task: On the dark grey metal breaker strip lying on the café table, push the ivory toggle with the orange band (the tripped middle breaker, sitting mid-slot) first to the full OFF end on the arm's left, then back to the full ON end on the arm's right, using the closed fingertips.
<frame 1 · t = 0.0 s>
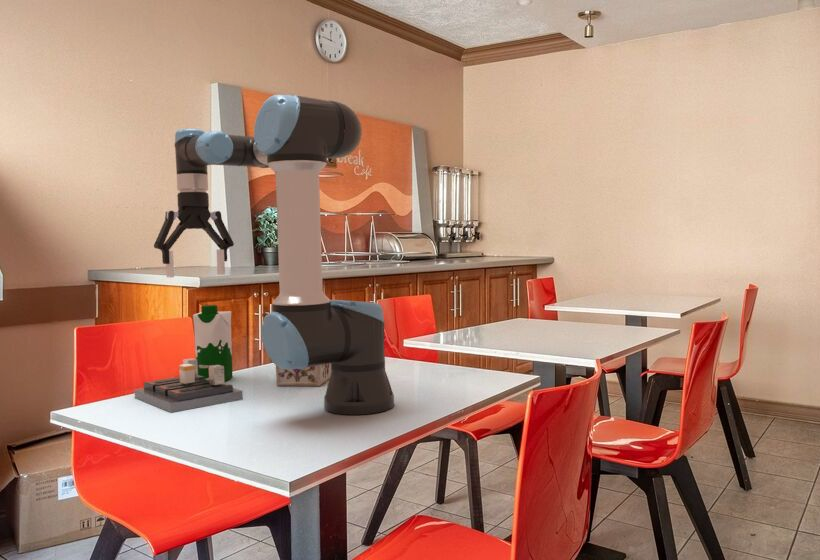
hand: (196, 276, 177), 28 cm above the table, fingers open, 13 cm apart
milk carton: (215, 381, 185), on the table
tripped toggle: (186, 373, 163), point 6 cm above the table, slide at 0.0 cm
breaker panel: (188, 398, 163), on the table
decorative jar: (305, 382, 180), on the table
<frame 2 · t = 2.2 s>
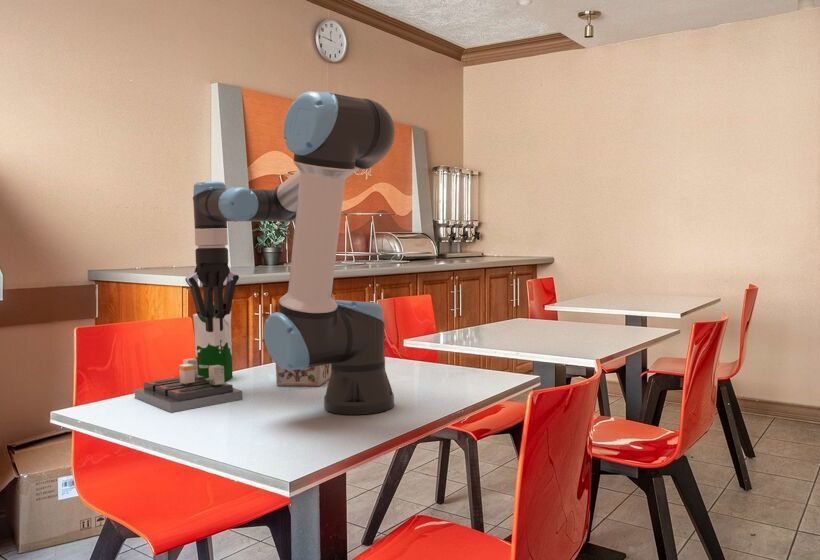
hand: (214, 344, 168), 12 cm above the table, fingers closed
nothing on the table moved.
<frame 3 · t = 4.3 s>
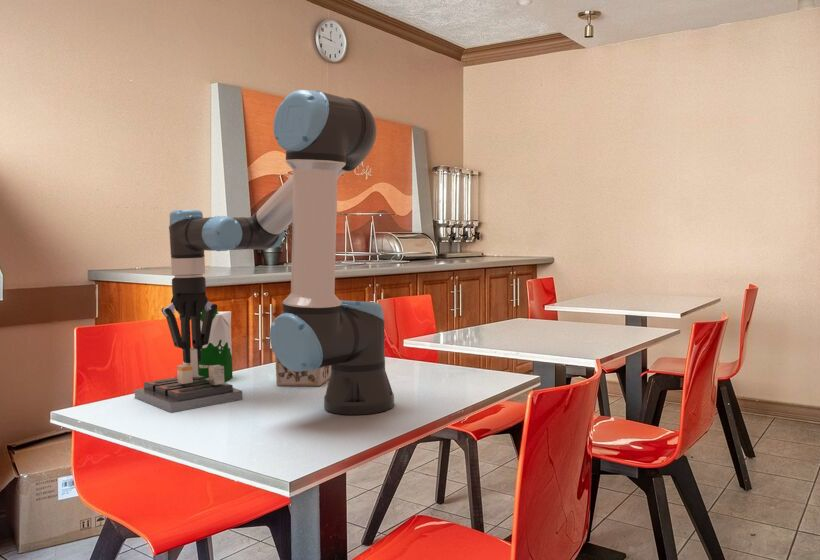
hand: (192, 376, 164), 5 cm above the table, fingers closed
tripped toggle: (184, 373, 163), point 6 cm above the table, slide at 0.5 cm, touching gripper
everything else where it was.
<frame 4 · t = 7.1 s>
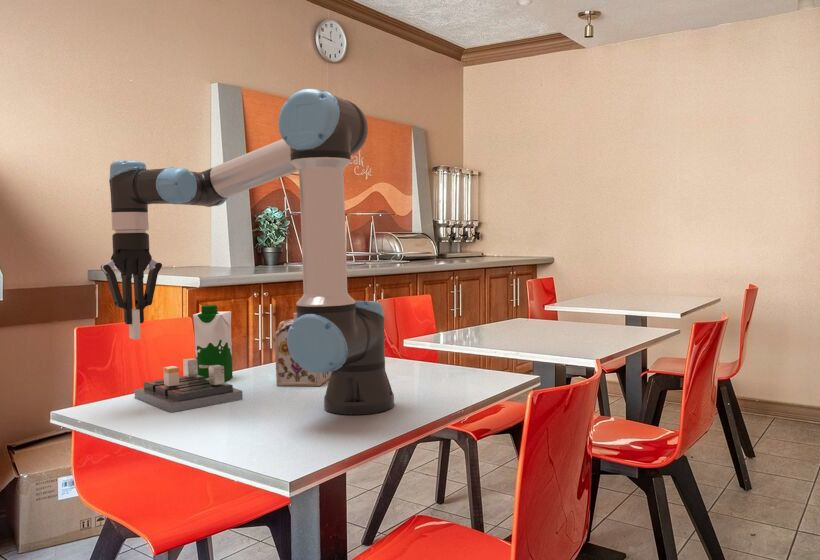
hand: (135, 338, 155), 15 cm above the table, fingers closed
tripped toggle: (171, 375, 161), point 6 cm above the table, slide at 3.7 cm
everything else where it was.
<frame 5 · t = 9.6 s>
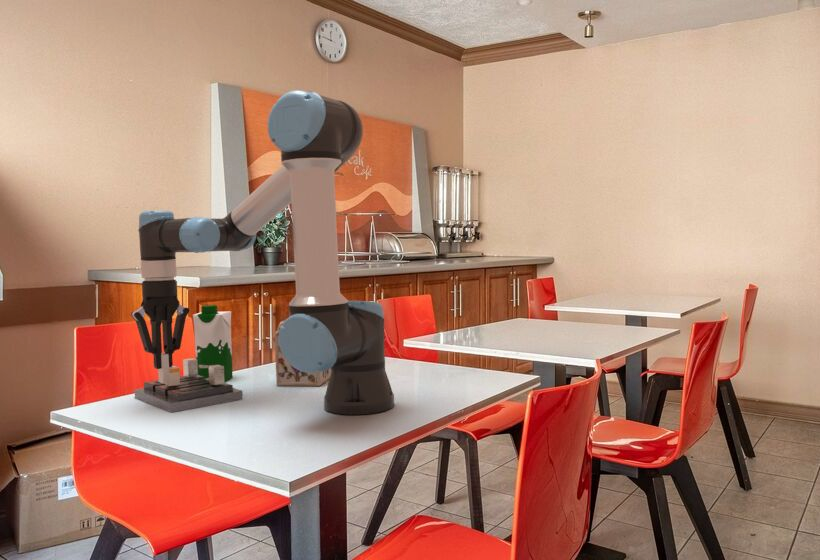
hand: (164, 382, 159), 5 cm above the table, fingers closed
tripped toggle: (172, 375, 161), point 6 cm above the table, slide at 3.6 cm, touching gripper
everything else where it was.
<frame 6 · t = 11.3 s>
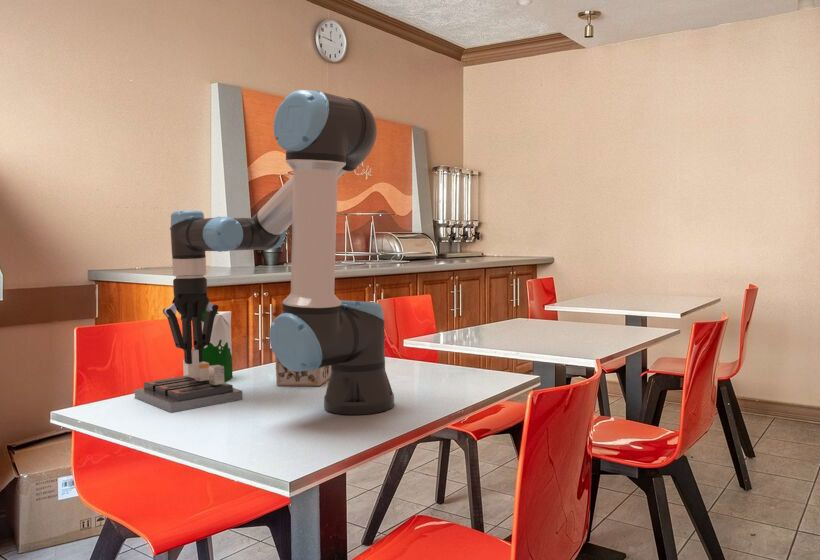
hand: (194, 376, 164), 5 cm above the table, fingers closed
tripped toggle: (201, 371, 166), point 6 cm above the table, slide at -3.7 cm, touching gripper
everything else where it was.
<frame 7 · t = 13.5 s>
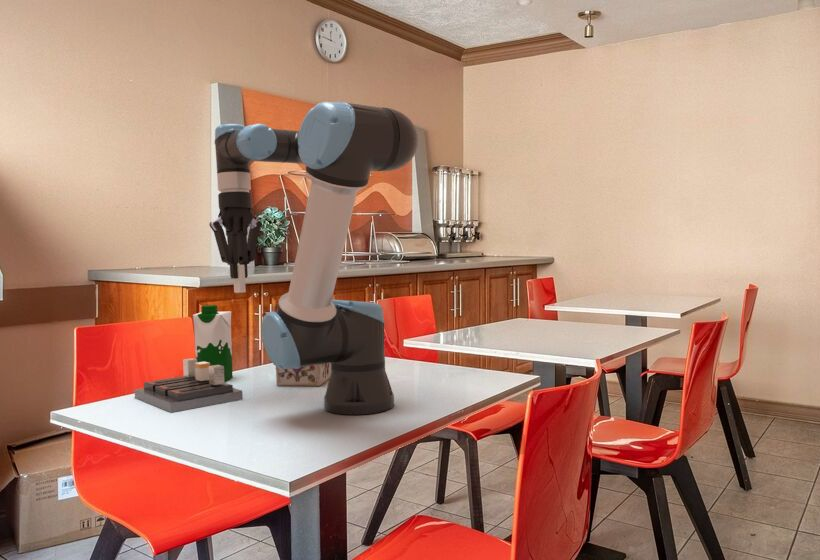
hand: (240, 292, 164), 24 cm above the table, fingers closed
tripped toggle: (202, 371, 166), point 6 cm above the table, slide at -3.9 cm
everything else where it was.
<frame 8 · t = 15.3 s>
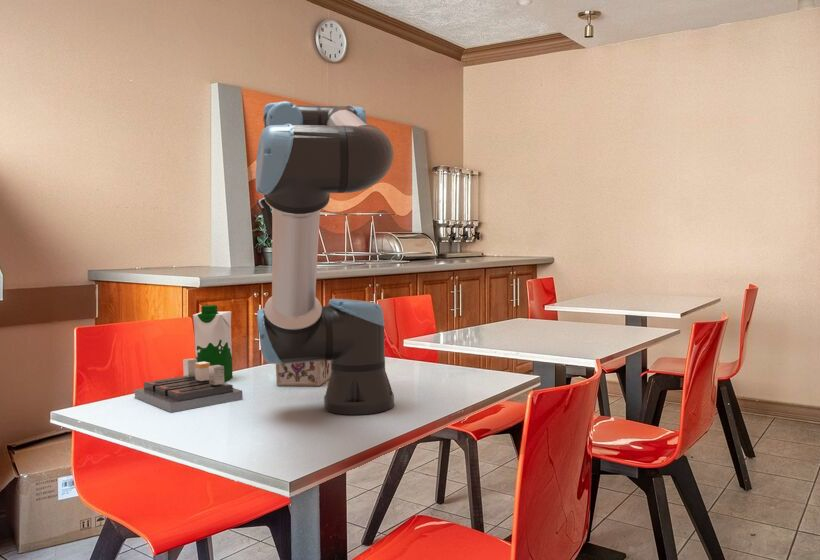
hand: (285, 269, 167), 29 cm above the table, fingers closed
nothing on the table moved.
at the end: tripped toggle slide at -3.9 cm; tripped toggle touching nothing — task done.
